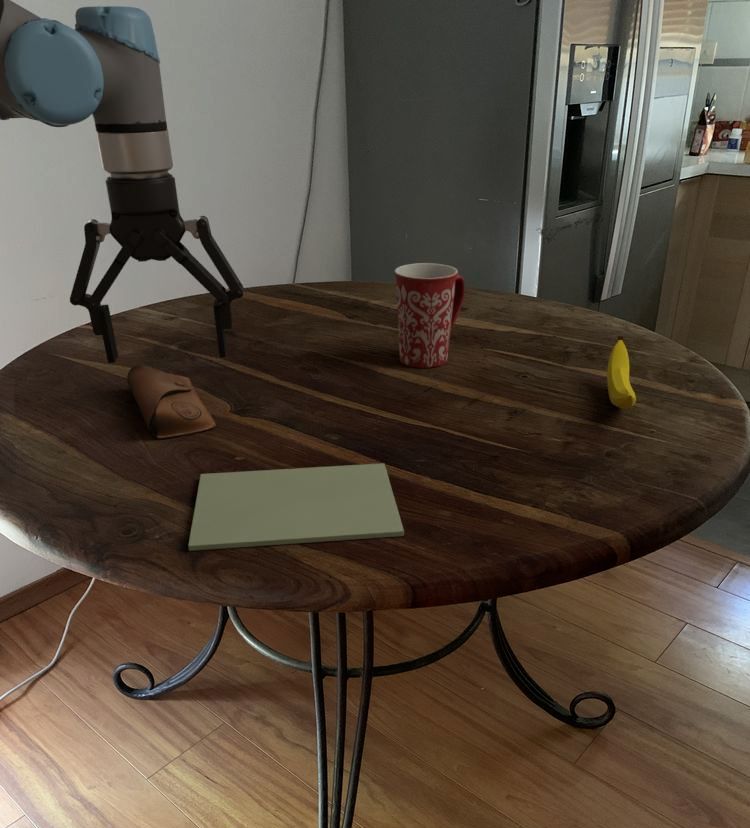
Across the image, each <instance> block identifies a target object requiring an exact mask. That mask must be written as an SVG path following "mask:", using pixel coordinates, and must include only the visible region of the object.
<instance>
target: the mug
mask: <svg viewBox="0 0 750 828" xmlns="http://www.w3.org/2000/svg"><path fill="white" fill-rule="evenodd" d="M393 272H394V276H395V287H396V289H395V290H396V307H397V328H398V349H399V350H398V351H399V360H400V362H401V363H402V364H404V365H405V366H408V367H412V368H419V369H429V368H436V367H440V366H443V365H445V363H447V361H448V357H449V348H450V339H451V338H450V337H451V332H452V329H454V328H453V327H454V326H455V323H456V321H457V319H458V316H459V314H460V312H461V309H462V306H463V303H464V299H465V293H466V291H465V290H466V284H465V279H464V278H463V276H461V275H459V274H458V273H459V271H458V269H457V268H456V267H454V266H451V265H447V264H443V263H434V262H433V263H432V262H419V263H418V262H417V263H409V264H404V265H401V266H398V267H396V268H395V269H394V271H393Z"/></svg>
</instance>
